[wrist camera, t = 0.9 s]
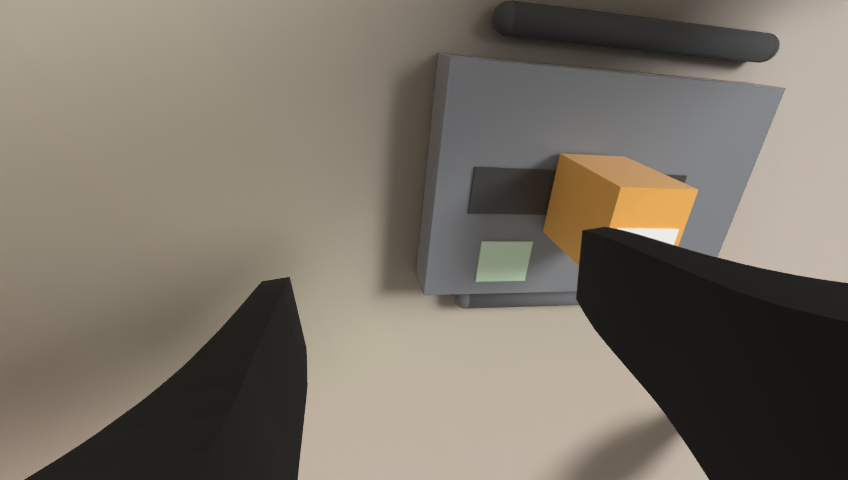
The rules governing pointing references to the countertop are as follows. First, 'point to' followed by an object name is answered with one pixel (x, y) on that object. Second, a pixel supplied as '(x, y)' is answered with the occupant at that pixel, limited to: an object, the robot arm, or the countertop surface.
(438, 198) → the breaker panel
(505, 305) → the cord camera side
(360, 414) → the countertop surface
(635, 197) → the knob
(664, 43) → the dark grey rod
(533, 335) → the countertop surface
